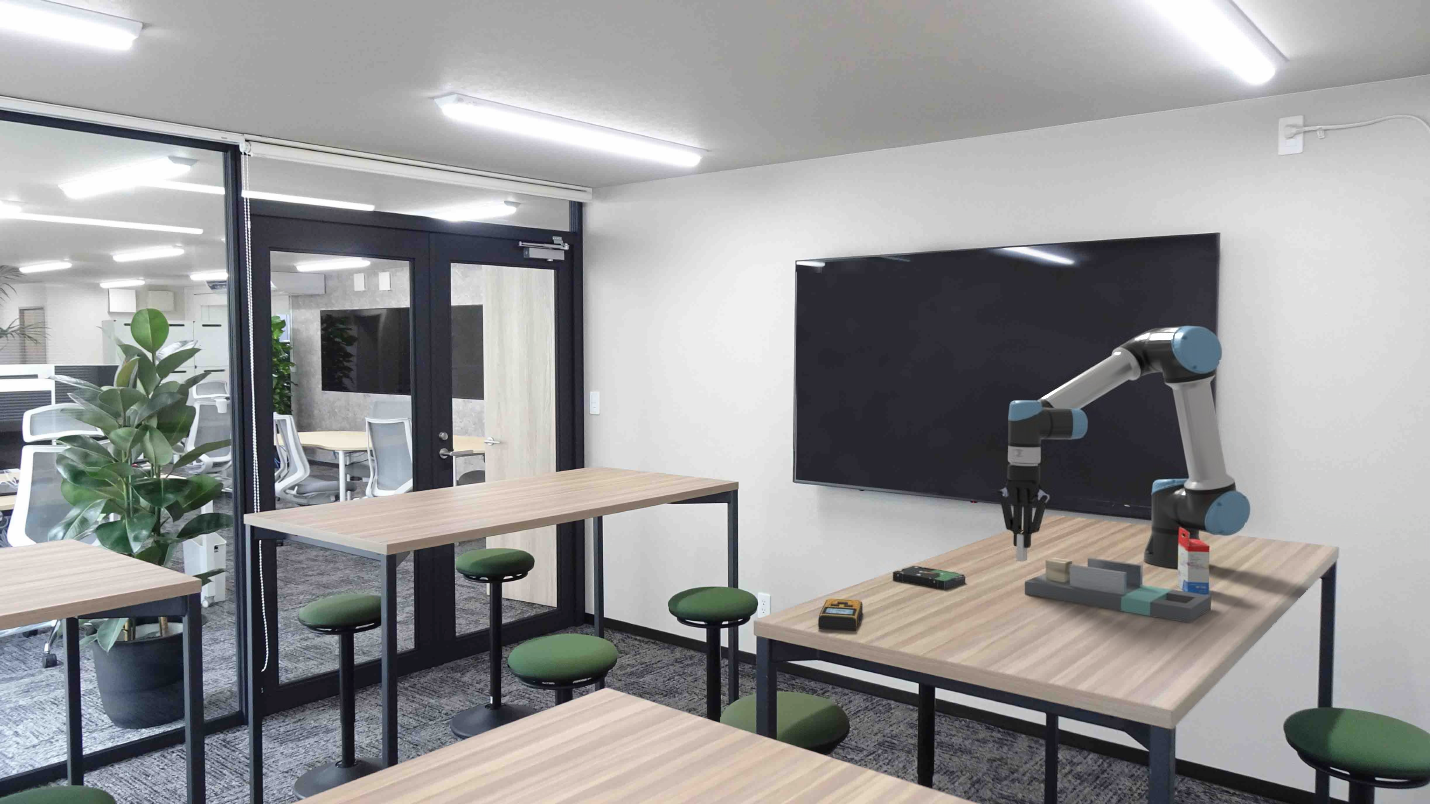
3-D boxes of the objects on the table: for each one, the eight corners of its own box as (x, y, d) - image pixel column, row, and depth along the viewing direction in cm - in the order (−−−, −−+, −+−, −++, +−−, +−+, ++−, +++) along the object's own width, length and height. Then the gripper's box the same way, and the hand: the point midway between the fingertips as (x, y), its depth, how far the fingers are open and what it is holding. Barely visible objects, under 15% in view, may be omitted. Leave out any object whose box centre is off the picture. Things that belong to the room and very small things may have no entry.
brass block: (1053, 576, 224) (1053, 557, 223) (1072, 579, 220) (1072, 560, 220) (1045, 579, 220) (1045, 560, 220) (1064, 582, 217) (1064, 563, 217)
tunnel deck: (1051, 582, 229) (1051, 550, 229) (1210, 609, 205) (1211, 573, 205) (1024, 593, 218) (1025, 560, 218) (1190, 622, 194) (1190, 584, 194)
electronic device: (863, 614, 203) (863, 598, 203) (857, 633, 188) (857, 617, 188) (825, 611, 205) (825, 596, 205) (816, 630, 190) (816, 614, 190)
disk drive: (892, 583, 232) (945, 591, 222) (891, 571, 232) (945, 580, 222) (913, 575, 240) (966, 584, 230) (913, 565, 240) (966, 573, 230)
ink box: (1209, 595, 217) (1211, 533, 216) (1186, 594, 218) (1188, 532, 217) (1198, 587, 225) (1199, 526, 225) (1176, 586, 226) (1177, 526, 226)
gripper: (991, 462, 227) (989, 558, 228) (1043, 467, 218) (1041, 566, 219) (1005, 460, 233) (1003, 554, 233) (1056, 464, 224) (1054, 562, 225)
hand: (1021, 560), depth 226 cm, fingers closed
